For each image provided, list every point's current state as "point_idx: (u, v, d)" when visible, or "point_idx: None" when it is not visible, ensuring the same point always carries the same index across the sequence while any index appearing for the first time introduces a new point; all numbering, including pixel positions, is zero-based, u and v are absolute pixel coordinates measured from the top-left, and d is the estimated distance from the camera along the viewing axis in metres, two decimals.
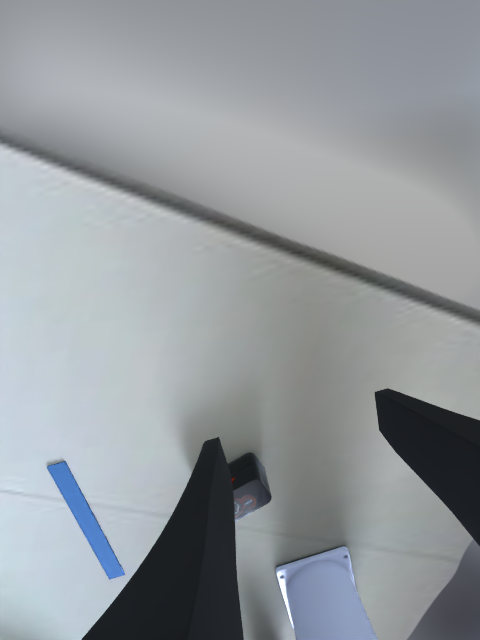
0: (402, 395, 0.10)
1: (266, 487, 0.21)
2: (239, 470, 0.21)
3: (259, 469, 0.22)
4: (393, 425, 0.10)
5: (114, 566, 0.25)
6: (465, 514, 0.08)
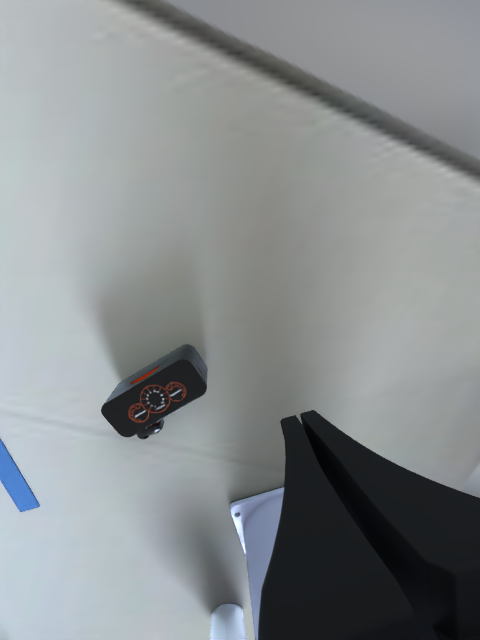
0: (320, 419, 0.10)
1: (199, 373, 0.16)
2: (168, 358, 0.17)
3: (194, 357, 0.17)
4: (313, 449, 0.10)
5: (25, 494, 0.20)
6: None
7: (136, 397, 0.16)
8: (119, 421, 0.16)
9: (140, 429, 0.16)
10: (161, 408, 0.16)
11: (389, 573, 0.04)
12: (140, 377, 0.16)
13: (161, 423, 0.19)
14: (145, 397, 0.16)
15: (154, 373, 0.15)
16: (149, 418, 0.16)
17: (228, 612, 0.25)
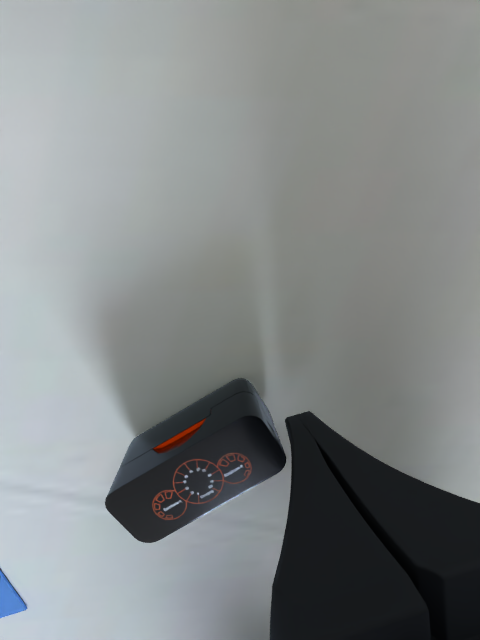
0: (316, 420, 0.10)
1: (275, 437, 0.09)
2: (216, 405, 0.10)
3: (259, 403, 0.10)
4: None
5: (5, 595, 0.13)
6: None
7: (166, 480, 0.09)
8: (136, 519, 0.09)
9: (171, 530, 0.09)
10: (208, 496, 0.09)
11: (401, 569, 0.04)
12: (170, 438, 0.10)
13: None
14: (182, 479, 0.09)
15: (198, 439, 0.09)
16: (187, 512, 0.09)
17: None
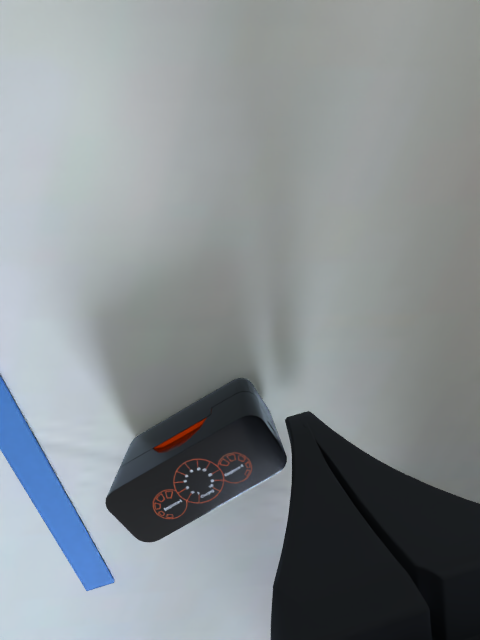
0: (315, 420, 0.10)
1: (275, 436, 0.09)
2: (217, 405, 0.10)
3: (259, 403, 0.10)
4: None
5: (95, 567, 0.13)
6: None
7: (166, 479, 0.09)
8: (136, 518, 0.09)
9: (172, 529, 0.09)
10: (208, 495, 0.09)
11: (402, 569, 0.04)
12: (170, 438, 0.10)
13: None
14: (182, 479, 0.09)
15: (198, 438, 0.09)
16: (187, 512, 0.09)
17: None
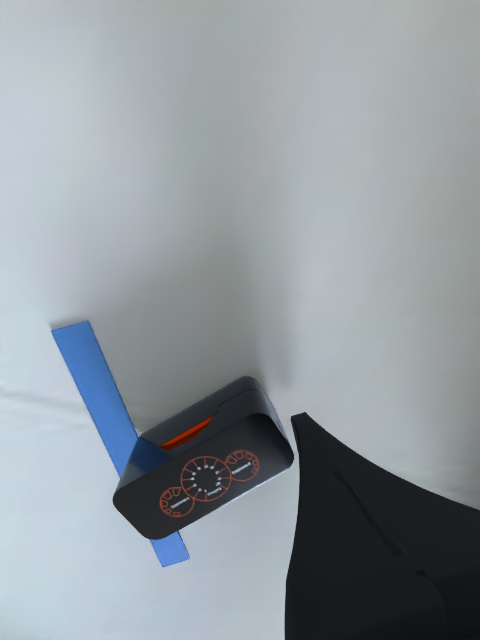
0: (310, 422, 0.10)
1: (282, 434, 0.09)
2: (224, 403, 0.10)
3: (266, 401, 0.10)
4: None
5: (173, 543, 0.14)
6: None
7: (173, 477, 0.09)
8: (143, 516, 0.09)
9: (178, 527, 0.09)
10: (215, 493, 0.09)
11: (416, 565, 0.04)
12: (177, 436, 0.10)
13: None
14: (189, 476, 0.09)
15: (206, 436, 0.09)
16: (194, 509, 0.09)
17: None
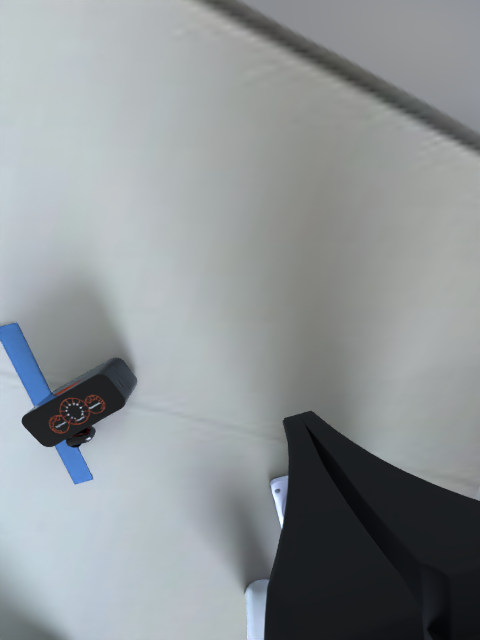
0: (318, 420, 0.10)
1: (118, 387, 0.16)
2: (93, 371, 0.17)
3: (118, 371, 0.17)
4: None
5: (80, 467, 0.21)
6: None
7: (55, 409, 0.16)
8: (40, 432, 0.16)
9: (61, 439, 0.17)
10: (81, 420, 0.17)
11: (395, 571, 0.04)
12: (64, 389, 0.17)
13: (91, 433, 0.19)
14: (64, 409, 0.16)
15: (73, 386, 0.16)
16: (70, 429, 0.17)
17: (263, 586, 0.26)
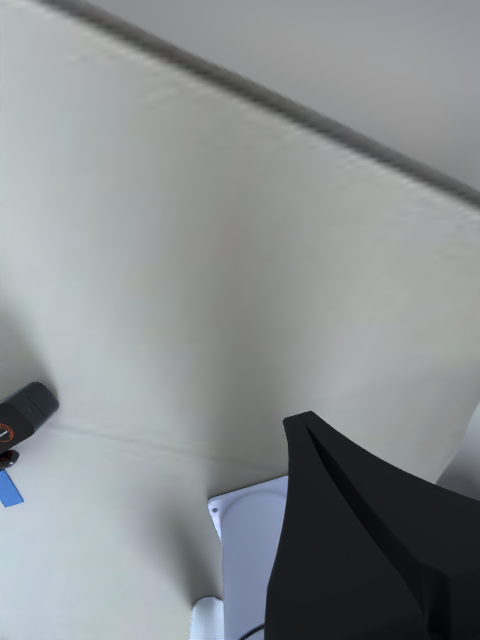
0: (318, 420, 0.10)
1: (26, 415, 0.16)
2: (6, 398, 0.17)
3: (32, 397, 0.17)
4: None
5: (9, 490, 0.21)
6: None
7: None
8: None
9: None
10: None
11: (395, 571, 0.04)
12: None
13: (13, 457, 0.19)
14: None
15: None
16: None
17: (208, 605, 0.25)
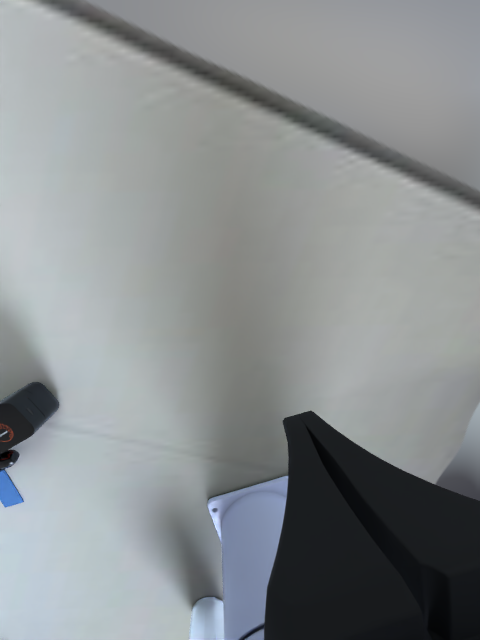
0: (318, 420, 0.10)
1: (26, 415, 0.16)
2: (6, 398, 0.17)
3: (32, 397, 0.17)
4: None
5: (9, 490, 0.21)
6: None
7: None
8: None
9: None
10: None
11: (395, 571, 0.04)
12: None
13: (13, 457, 0.19)
14: None
15: None
16: None
17: (208, 605, 0.25)
